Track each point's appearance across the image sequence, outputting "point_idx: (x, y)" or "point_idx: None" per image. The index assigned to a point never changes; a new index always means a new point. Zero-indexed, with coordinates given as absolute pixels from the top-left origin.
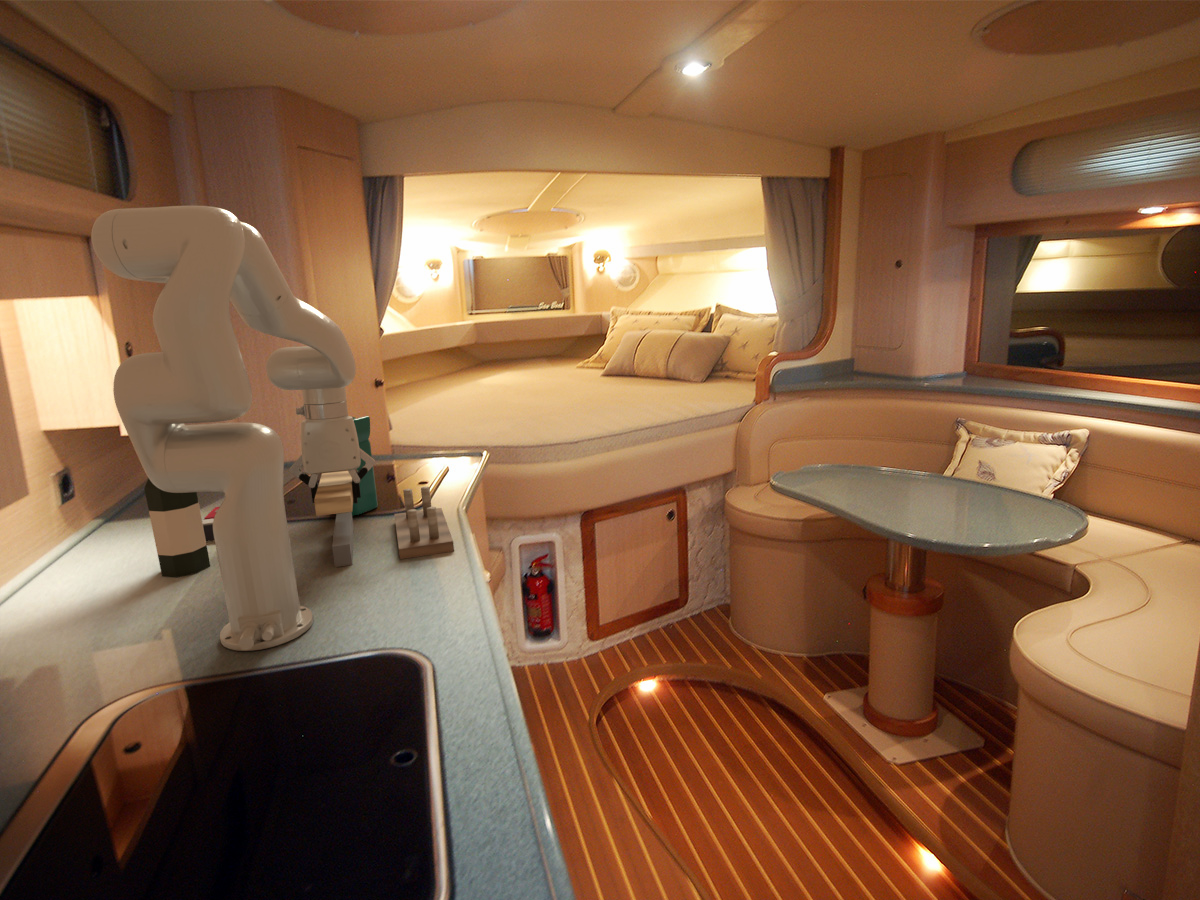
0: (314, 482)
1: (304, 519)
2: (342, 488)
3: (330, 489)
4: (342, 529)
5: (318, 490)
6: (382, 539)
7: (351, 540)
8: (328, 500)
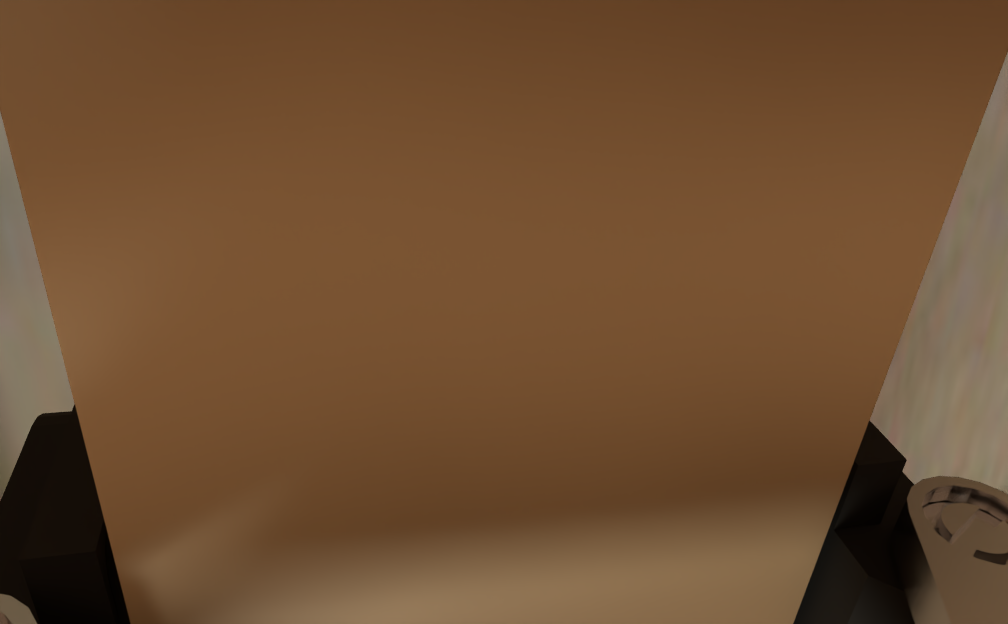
0: (963, 565)
1: None
2: (305, 117)
3: (651, 155)
4: None
5: (923, 185)
6: (36, 259)
7: None
8: None
